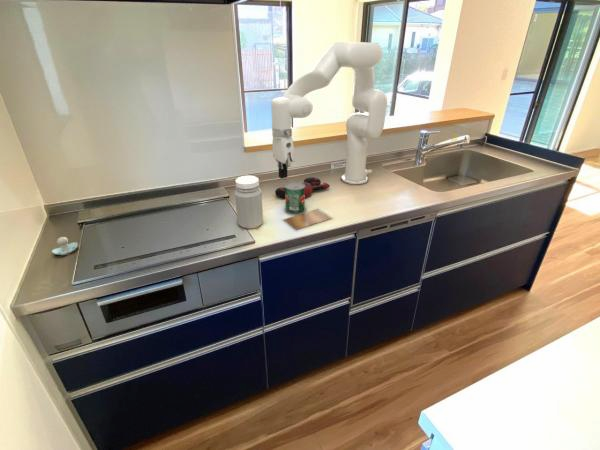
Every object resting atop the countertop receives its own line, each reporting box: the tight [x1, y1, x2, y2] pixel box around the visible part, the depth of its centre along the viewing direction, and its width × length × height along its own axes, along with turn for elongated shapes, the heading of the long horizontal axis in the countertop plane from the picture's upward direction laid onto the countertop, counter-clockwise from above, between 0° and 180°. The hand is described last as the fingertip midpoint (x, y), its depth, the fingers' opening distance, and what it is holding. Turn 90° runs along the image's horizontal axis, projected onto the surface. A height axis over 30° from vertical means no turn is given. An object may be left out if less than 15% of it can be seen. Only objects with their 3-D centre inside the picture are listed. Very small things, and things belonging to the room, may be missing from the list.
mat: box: [283, 208, 332, 231], centre depth 134 cm, size 16×9×1 cm, turn 123°
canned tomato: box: [284, 181, 306, 216], centre depth 138 cm, size 8×8×11 cm
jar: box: [234, 174, 264, 230], centre depth 127 cm, size 10×10×18 cm
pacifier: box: [51, 236, 79, 256], centre depth 113 cm, size 7×6×6 cm
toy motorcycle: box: [274, 176, 330, 200], centre depth 154 cm, size 25×5×16 cm
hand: (283, 177), depth 141 cm, fingers closed
